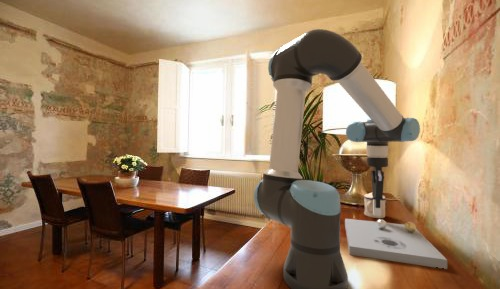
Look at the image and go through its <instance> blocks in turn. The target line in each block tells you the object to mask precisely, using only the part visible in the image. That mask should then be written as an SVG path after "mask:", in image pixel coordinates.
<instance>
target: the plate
mask: <svg viewBox="0 0 500 289" xmlns="http://www.w3.org/2000/svg"><path fill="white" fill-rule="evenodd" d="M376 222H377V221H373V220H365V219H363V220H362V219H353V218H344V226H345V235H346V241H347V247H348V248H347V249H348V253H349V255H351V256H358V257H364V258H365V257H366V258H371V259H375V260H377V259H378V260H383V261H384V260H385V261H391V262H397V263H403V264H411V265H417V266H423V267H431V268H436V267H438V268H437V269H442V268H444V269H443V270H448V259H447V258H446V257H445V256H444V255H443V254H442V253H441V252H440V251H439V249H437V248H436V247H435V246H434V245H433V244H432V243H431V242H430V241H429V240H428V239H427V238H426V237H425V236H424V235H423V234H422V233H421V232H420V231H419V230H418V229H417V228H416V231H414V232H408V231H407V230H406V229H405V224H400V223H392V222H386V223H387V227H386V228H385V229H380V228H378V227H377V225H376Z"/></svg>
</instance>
